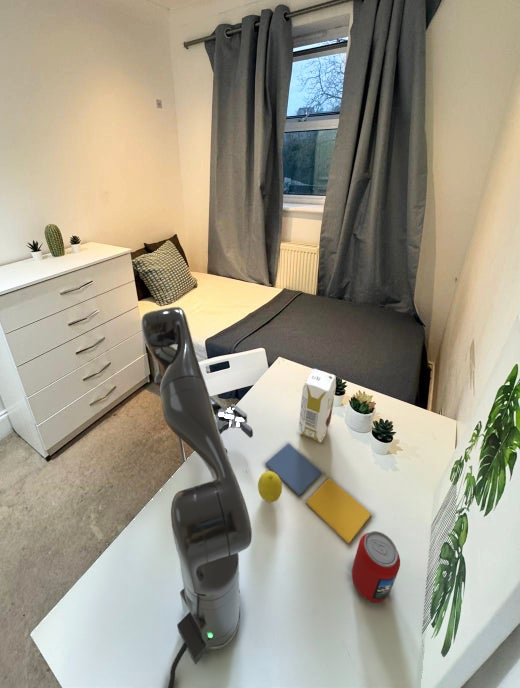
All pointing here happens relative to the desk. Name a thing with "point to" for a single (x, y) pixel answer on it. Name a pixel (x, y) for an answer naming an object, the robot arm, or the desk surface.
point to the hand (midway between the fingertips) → (239, 444)
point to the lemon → (269, 486)
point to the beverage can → (375, 566)
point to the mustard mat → (339, 510)
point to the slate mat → (293, 469)
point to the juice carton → (317, 404)
